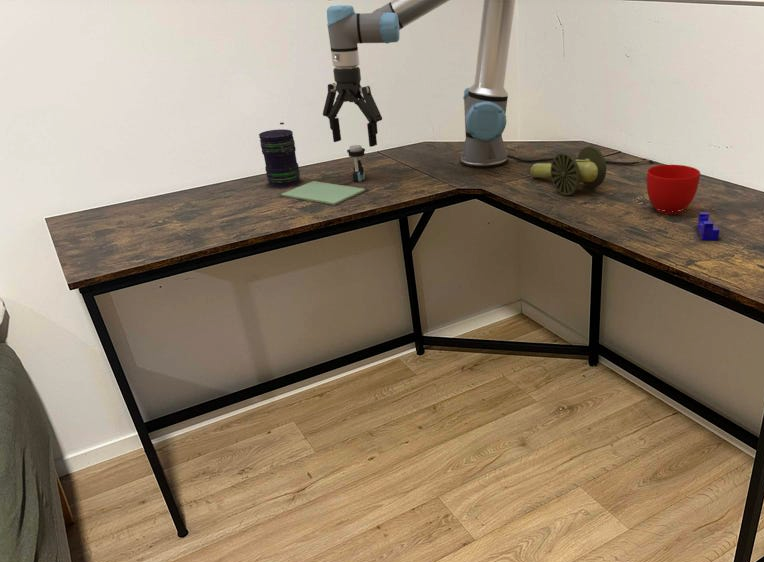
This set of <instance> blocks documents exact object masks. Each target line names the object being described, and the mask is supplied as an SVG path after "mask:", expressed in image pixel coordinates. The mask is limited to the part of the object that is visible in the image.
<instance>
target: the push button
mask: <svg viewBox="0 0 764 562" xmlns="http://www.w3.org/2000/svg"><path fill="white" fill-rule="evenodd" d="M346 152H347V154H348V157H350V158H352V159H353V168H352V169H353V172H352V180H353V182H354V183H356V182H357V183H358V182H362V181H363V180H365V179H366V176H365V169H364V166H363V164H362V161H361V160H362V159H361V158H363V156H365V152H366V148H364V147H362V145H361V144H360V145H359V144H353V145H350V146H349V149H347V150H346Z"/></svg>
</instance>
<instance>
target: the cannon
mask: <svg viewBox="0 0 764 562" xmlns="http://www.w3.org/2000/svg"><path fill="white" fill-rule="evenodd" d="M553 158H554V159H553V160H551V161H552V162H551V163H550V162H549V163H547V162H546V163H542V162H537V163H536V162H535V163H534V164H532V166H531V167H530V175H531V176H532V177H533V178H534V179H545V180H546V179H547V180H548V179H549V180H551V182H552V184H553V187H554V188H555V190H556V191H557V192H558V193H559V194H561V195H562V196H571V195H573V194H574V193H576V191H577V190H578V189H579V186H580V183H581V184H583V185H584V186H585V187H587V188H591V189H593V188H594V189H595V188H597V187H600V186H601V185H602V184H603V182H604V181H605V179H606V175H607V163H606V162H605V161H606V159H605V156H604V155H603V153H602V151H600V149H599V148H598V147H595V146H592V145H591V146H590V145H589V146H586V147H584V148H582V149H581V150H580V151H579V153H578V155H577V157H576V158H577V160H575V159H574V158H575V157H574V156H573V155H571V153H568V152H561V153H558V154H557V155H555V157H553Z"/></svg>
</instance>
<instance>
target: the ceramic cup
mask: <svg viewBox="0 0 764 562" xmlns="http://www.w3.org/2000/svg"><path fill="white" fill-rule="evenodd" d="M700 178H701V172H700V170H699V169H697V168H695V167H692V166H689V165H683V164H660V165H655V166H651V167H649V168H648V169H647V171H646V191H647V196H648V199H649V201H650V203H651V205H652V206H653V207H654V209H655V210H656V212H658V213H660V214H663V215H679V214H680V213H682V212H683V211H684V210H685V209H686V208H687V207H688V206H690V204H691V203H692V202H693V200H694V199H695V196H696V193H697V191H698V187H699V183H700ZM656 208H657V209H656ZM658 209H660V210H658ZM682 209H683V210H682ZM662 210H665V211H662ZM678 210H681V211H678ZM672 211H673V212H672Z"/></svg>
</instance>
